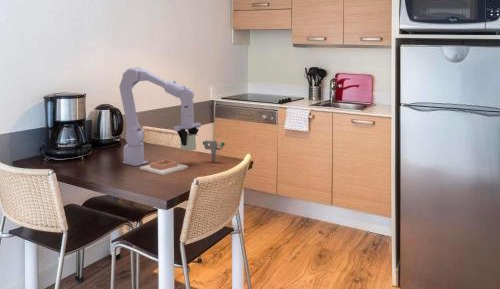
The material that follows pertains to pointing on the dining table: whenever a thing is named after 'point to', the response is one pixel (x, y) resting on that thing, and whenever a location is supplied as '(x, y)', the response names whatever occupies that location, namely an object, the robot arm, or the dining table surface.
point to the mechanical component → (213, 147)
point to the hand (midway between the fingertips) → (187, 144)
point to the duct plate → (164, 167)
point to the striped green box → (190, 143)
